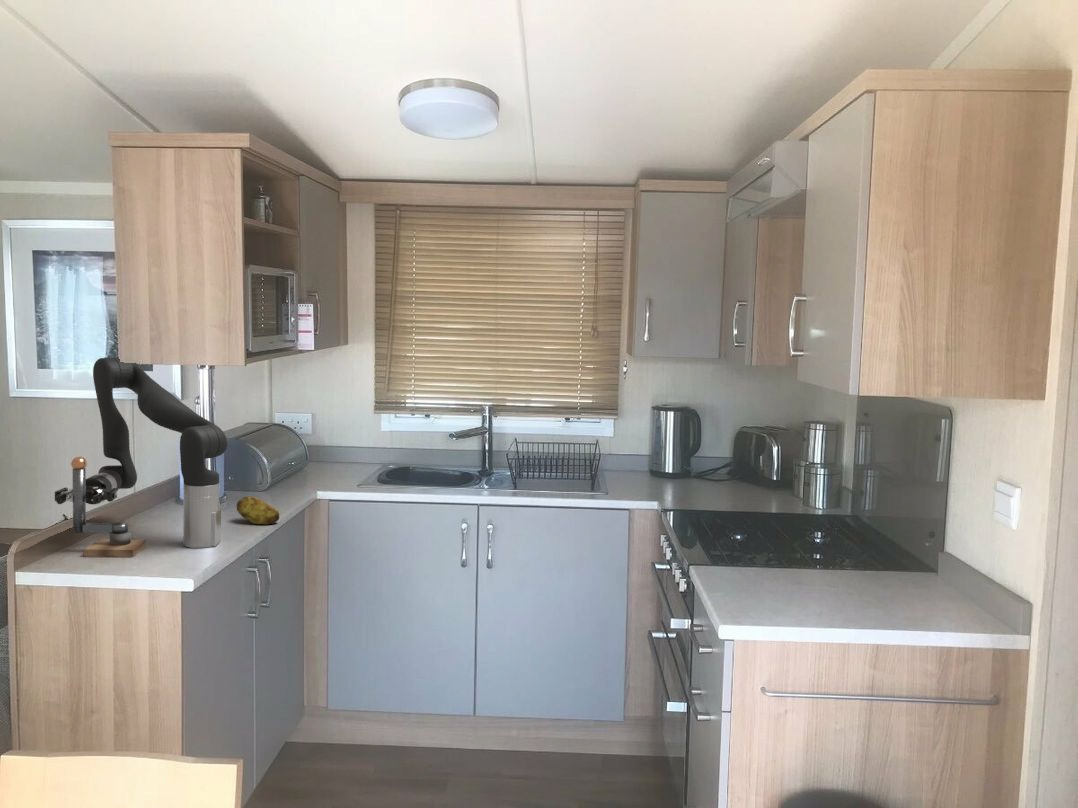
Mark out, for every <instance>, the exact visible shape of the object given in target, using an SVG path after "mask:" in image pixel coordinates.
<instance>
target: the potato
mask: <svg viewBox="0 0 1078 808" xmlns="http://www.w3.org/2000/svg"><path fill="white" fill-rule="evenodd" d="M236 511H237V512H238V514H239V515H240V516H241V517H242V518H243V519H245V520H247V521H248V522H250V523H252V524H254V525H260V524H263V525H271V524H272V525H273V524H274V523H276V522H278V521H279V519H280V513H279V510H278V509H276V508H275V507H273V506H271V505H269V504H268V503H266V502H265V501H262V500H261V499H259V498H257V497H254V496H244V497H243V498H240V499H239V500H238V501H237V503H236Z"/></svg>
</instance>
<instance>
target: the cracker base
mask: <svg viewBox="0 0 1078 808" xmlns="http://www.w3.org/2000/svg"><path fill="white" fill-rule="evenodd" d="M131 534H132V533H131V530H129V531H128V532H124V533H113V532H109V539H108V538H105V539H104V538H103V539H101V538H100V539H97V540H96V541H94V542H93V543H91V544H90V545H88V546H86V547H85V548H84V549H83V557H84V558H134V557H135V556H136V555H137V554H139V553H140V552H141V551H143V550H144V549H145V548H146V547H147V539H131V538H132V537H131V536H132V535H131Z"/></svg>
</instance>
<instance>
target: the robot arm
mask: <svg viewBox="0 0 1078 808" xmlns="http://www.w3.org/2000/svg"><path fill="white" fill-rule="evenodd" d="M119 357H120V356H117V357H101V358H98V359H96V361H95V362H94V364H93V368H92V378H93V384H94V390H95V394H96V400H97V401H96V402H97V406H98V409H99V415H100V420H101V425H102V426H101V427H102V428H101V429H102V445H103V446H102V447H103V448H102V449H103V455H104V457H106V458H108V459H113V460H116V461H118V462H119V463H120V465H119V464H118V465H117V464H116V465H114V464H113V465H104V466H101V467H100V468H99V470H98V472H97V473H96V474H95V473H94V474H93V475H91V476H89V477H87V478H86V504H87V505H99V504H101V503H104V502H105V501H107V502H108V503H109V502H110V503H111V502H113V501H114V500H116V499H117V498H118V491H119V490H123V489H124V490H125V489H126V490H127V489H132V488H133V487H135V485H136V483H137V480H138V473H137V470H136V467H135V464H134V461H133V459H132V454H131V449H130V448H131V447H130V429H129V426H128V424H127V421H126V419H124V416H123V415H122V414H121V413H120V410H119V409H118V408H117V405H116V403H115V400H114V393H113V392H114V391H113V389H129V390H131V391H132V392H134V394H136V395H137V399H136V400H137V407H138V409H139V411H140V412H141V413H142V414H143V415H144V416H145V417H146V418H147V419H149V420H150V421H151V422H153V423H154V424H156V425H158V426H160V427H162V428H165V429H167V430H171V431H175V432H177V433H180V434H181V435H180V439H179V456H180V458H179V460H180V471H181V476H182V479H183V480H182V481H183V484H182V485H183V489H182V490H183V495H182V496H183V499H182V501H183V502H182V503H183V504H182V505H183V511H182V512H183V513H182V516H183V517H182V519H183V520H182V521H183V522H182V523H183V525H182V526H183V527H182V532H183V533H182V534H183V536H182V541H183V542H182V545H183V546H184V547H187V548H192V549H199V548H200V549H201V548H202V549H204V548H209V547H216V546H217V545H218V544H219V543H221V542H222V541H221V540H222V508H220V474H219V472H218V471H215V470H211V469H208V467H206V460H207V459H213V458H218V457H219V456H222V455H223V454H224V453H225V452H226V451H227V449H228V438H227V436H226V434H225V432H224V431H223V430H222V429H221V428H220V427H219V426H218V425H217V424H215V423H213V422H211V421H209V420H208V419H206V418H205V417H203V416H202V415H199V414H198V413H196V412H195V411H194V410H193V409H191V408H190V407H189V406H187V405H186V404H184V403H183V402H182V401H180V400H179V399H178V397H176V396H174V394H172V393H171V392H169V391H168V390H167V389H165V388H164V387H162V385H161V384H159V383H157V382H156V381H155V380H154V379H153V378H152V377H151V376H149V374H147V373H146V371H145V370H143V368H141V366H140V365H139V364H137V363H136V362H135V363H124V362H120V359H119ZM54 501H55V502H56V504H57V505H63V504H64V503H65V502H72V503H73V488H68V487H62V488H60V489H59V490H56V491H54Z"/></svg>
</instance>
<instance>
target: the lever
mask: <svg viewBox="0 0 1078 808" xmlns="http://www.w3.org/2000/svg"><path fill="white" fill-rule="evenodd" d="M87 465H88V463H87V460H86V458H85V457H82V456H76V457H74V458H73V459H71V462H70V466H71V468H72V470H71V471H72V472H71V473H72V489H73V502H72V532H73V533H74V534H75V533H76V534H80V533H110V532H113V533H124V532H128V531H130V530H129V522H126V521H118V522H117V521H116V522H87V512H86V511H87V510H86V509H87V508H86V507H87V503H86V479H87V478H86V467H87Z"/></svg>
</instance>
